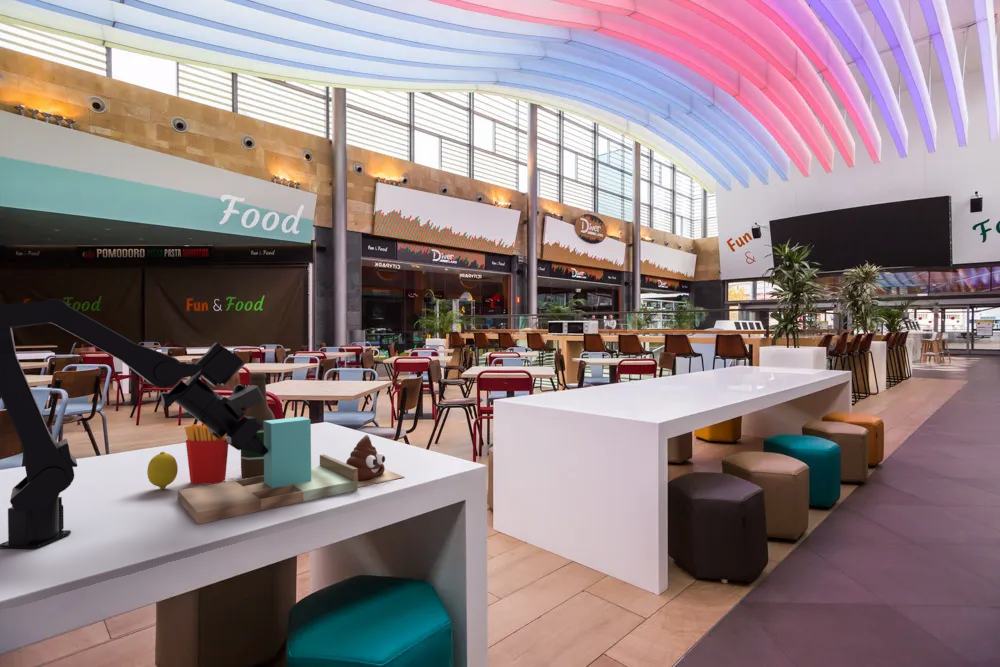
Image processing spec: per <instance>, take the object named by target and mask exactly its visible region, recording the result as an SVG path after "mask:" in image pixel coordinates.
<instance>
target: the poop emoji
mask: <svg viewBox="0 0 1000 667" xmlns="http://www.w3.org/2000/svg"><path fill="white" fill-rule="evenodd" d="M349 455H350V457H348V458H347V460H346V462H345V463H346V464H348V465H350V466H353V467H355V468H358V481H365V480H369V479H371V478H373V477H375V476H376V475H377V476H378V475H382V474H383V473H384V470H385V469H386V468H385V464H384V463H385V461H386V457H385V456H386V455H385V454H384V453H383V452H378V451H377V448H376V447H375V446H373V444H372V440H371V438H370V436H369V435H368V434H365V435H364V436H363V437H362V438H361V439H360V440H359V441H358V442H357V444H356V446H355V447H354V448H353V450H352V451H351V452H350V454H349Z"/></svg>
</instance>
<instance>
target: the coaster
mask: <svg viewBox="0 0 1000 667" xmlns="http://www.w3.org/2000/svg"><path fill="white" fill-rule="evenodd" d="M403 478H405V476H404V475H401V474H399V473H396V472H393V471H391V470H389V469H386V468H385V470H384V473H383V474H382V475H378V476H377V475H376V476H375V477H373V478H371V479H369V480H365V481H358V488H361V487H366V486H370V485H374V484H379V483H384V482H389V481H393V480H394V481H395V480H399V479H403Z"/></svg>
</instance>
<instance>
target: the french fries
mask: <svg viewBox="0 0 1000 667" xmlns="http://www.w3.org/2000/svg"><path fill="white" fill-rule="evenodd" d="M202 424H203V423H202ZM202 424H200V425H198V424H195V423H194V424H191V425H188V426H184V431H185V434H186V438H187V439H186V440H185V448H186V453H187V462H188V471H189V480H190V484H192V485H211V484H217V483H223V482H225V481H226V475H227V464H228V463H227V462H228V452H229V444H227V443H225V440H226V436H223V437H220V438H219V439H218V438H217V437H215V436H214V435H213V434H211V433H210V432H209V428H208V427H207V426H206V425H204V424H203V425H202Z"/></svg>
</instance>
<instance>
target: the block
mask: <svg viewBox="0 0 1000 667" xmlns="http://www.w3.org/2000/svg"><path fill="white" fill-rule="evenodd" d="M311 423H312V422H311V419H310V418H307V417H305V416H295V417H289V418H288V417H287V418H286V417H285V418H278V419H276V418H275V420H267V421H264V445H265V447H266V448H267V449H268V452H267V453H266V454H265V455H264V483H265V484H267V485H268V486H270V487H271V488H276V487H281V486H286V485H291V484H297V483H302V482H307V481H311V467H312V440H311V439H312V437H311V436H312V432H311V430H312V429H311V426H312V425H311Z"/></svg>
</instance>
